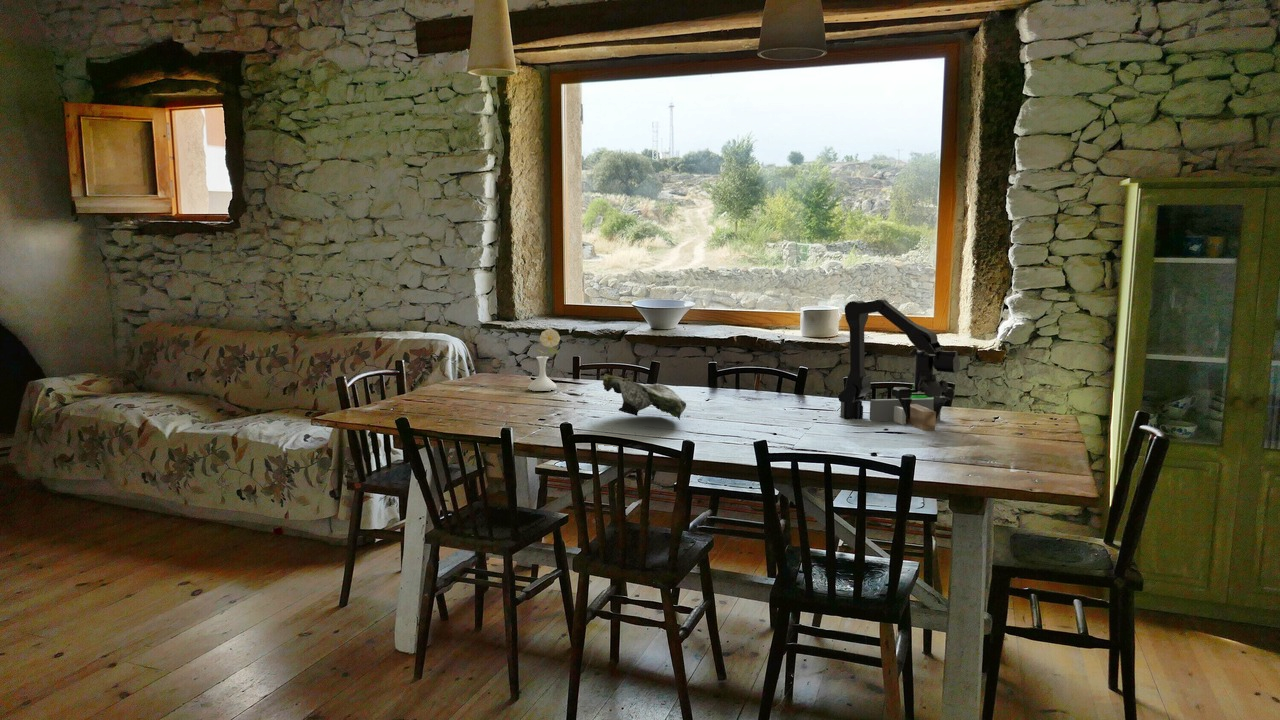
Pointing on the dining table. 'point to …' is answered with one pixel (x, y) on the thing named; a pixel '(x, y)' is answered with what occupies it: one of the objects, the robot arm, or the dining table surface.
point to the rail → (922, 417)
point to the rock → (644, 396)
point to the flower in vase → (542, 381)
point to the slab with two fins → (895, 409)
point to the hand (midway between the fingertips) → (921, 419)
